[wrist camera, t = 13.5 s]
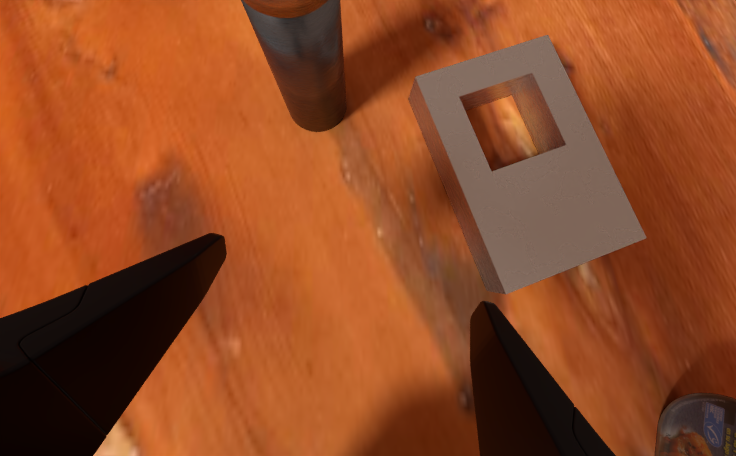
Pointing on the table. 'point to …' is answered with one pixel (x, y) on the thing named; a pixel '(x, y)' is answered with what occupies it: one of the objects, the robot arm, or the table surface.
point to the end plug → (304, 56)
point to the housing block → (524, 168)
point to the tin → (698, 426)
